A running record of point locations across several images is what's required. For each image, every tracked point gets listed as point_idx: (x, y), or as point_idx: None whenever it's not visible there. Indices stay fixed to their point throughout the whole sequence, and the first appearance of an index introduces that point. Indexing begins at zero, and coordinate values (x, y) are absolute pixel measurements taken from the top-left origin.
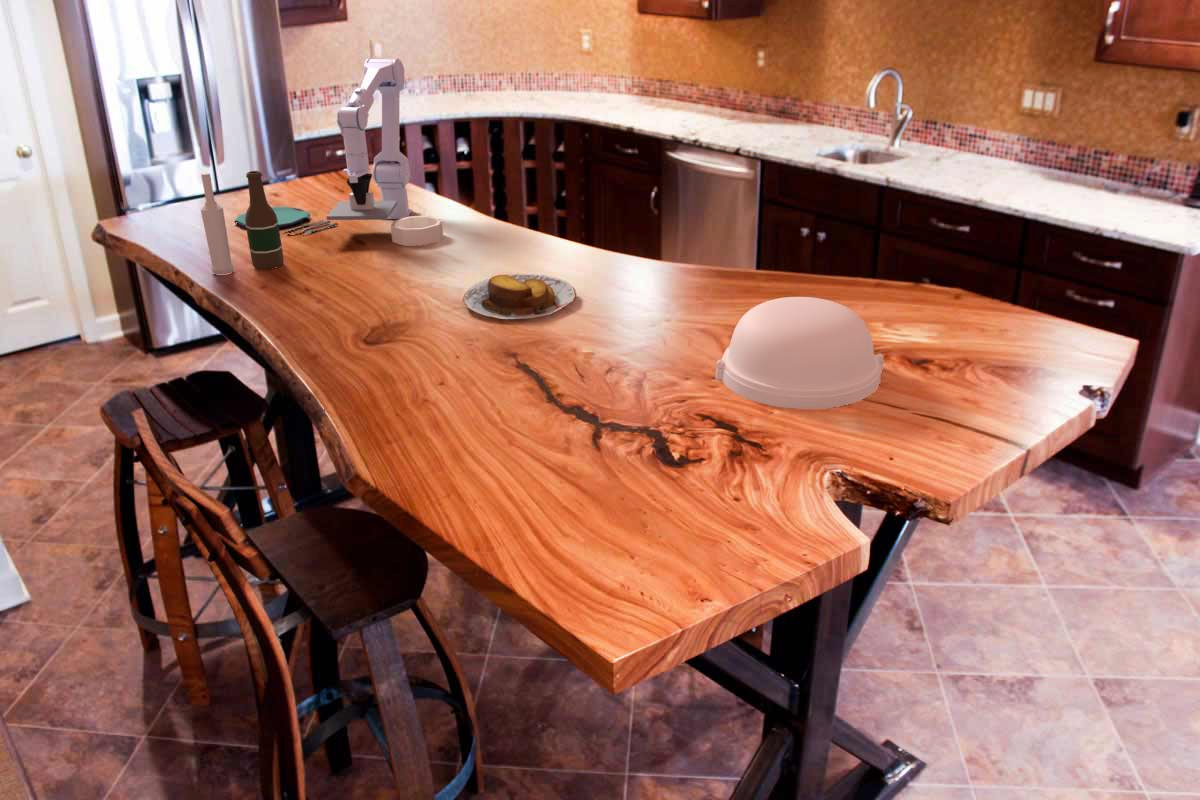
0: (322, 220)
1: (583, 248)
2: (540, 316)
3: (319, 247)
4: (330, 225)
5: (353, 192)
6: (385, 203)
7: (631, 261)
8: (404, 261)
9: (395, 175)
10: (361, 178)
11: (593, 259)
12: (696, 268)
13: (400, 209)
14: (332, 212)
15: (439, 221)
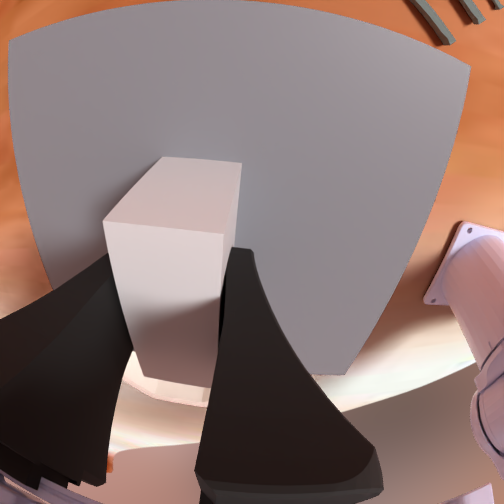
0: (498, 7)
1: (146, 445)
2: None
3: (92, 4)
4: (424, 10)
5: (49, 298)
6: (302, 344)
7: (112, 447)
8: (16, 288)
9: (497, 414)
10: (64, 480)
11: (110, 438)
12: (108, 455)
13: (450, 305)
14: (82, 34)
15: (184, 402)
